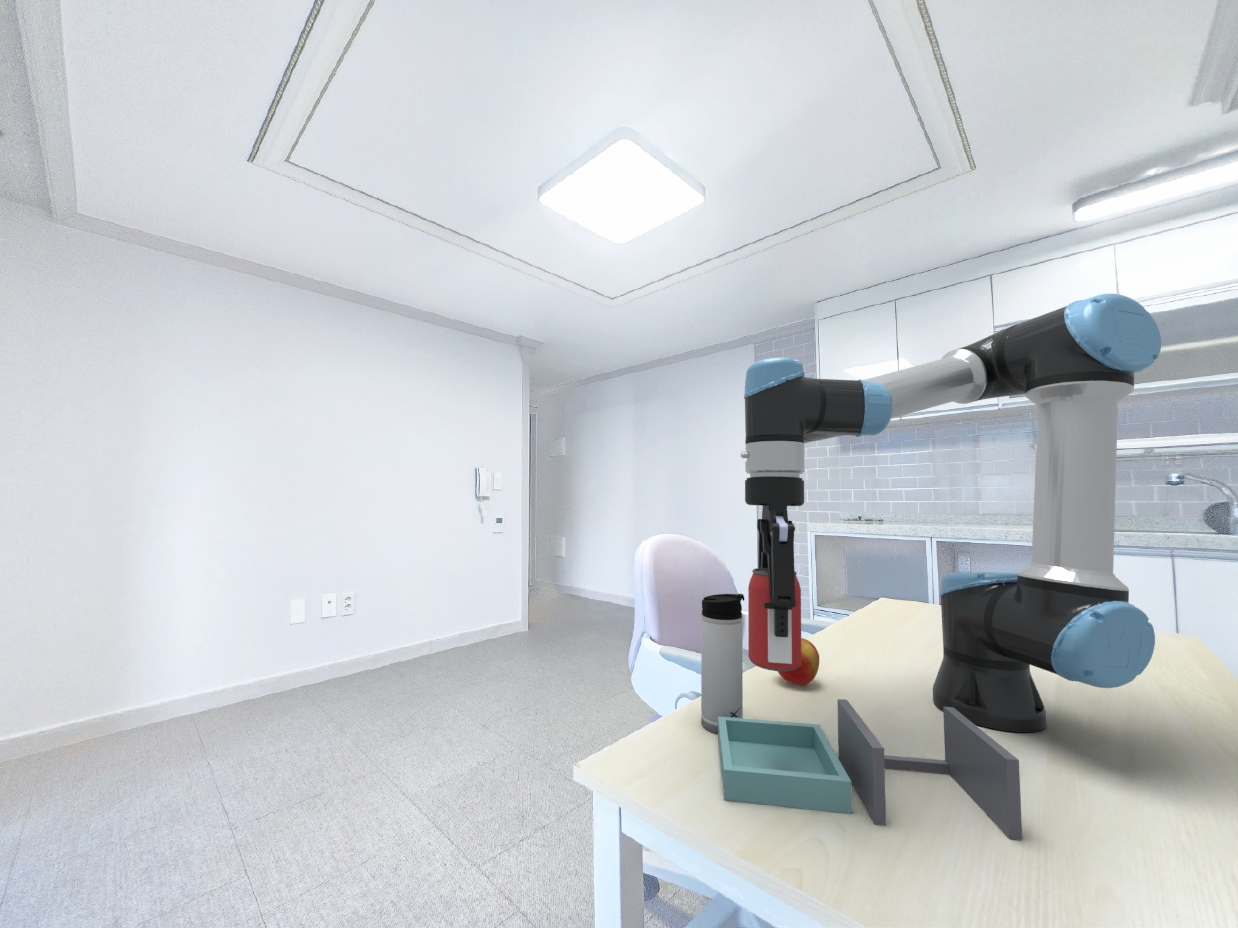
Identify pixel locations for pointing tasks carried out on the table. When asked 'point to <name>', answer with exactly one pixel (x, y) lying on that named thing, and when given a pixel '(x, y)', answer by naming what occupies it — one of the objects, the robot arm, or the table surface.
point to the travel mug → (721, 659)
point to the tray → (781, 765)
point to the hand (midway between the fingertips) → (774, 652)
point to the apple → (804, 665)
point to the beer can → (759, 623)
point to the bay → (935, 767)
